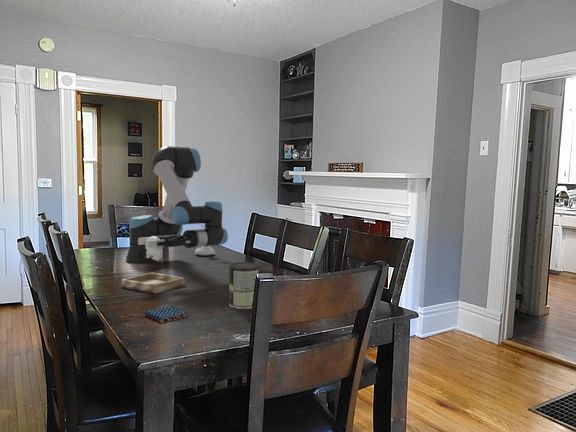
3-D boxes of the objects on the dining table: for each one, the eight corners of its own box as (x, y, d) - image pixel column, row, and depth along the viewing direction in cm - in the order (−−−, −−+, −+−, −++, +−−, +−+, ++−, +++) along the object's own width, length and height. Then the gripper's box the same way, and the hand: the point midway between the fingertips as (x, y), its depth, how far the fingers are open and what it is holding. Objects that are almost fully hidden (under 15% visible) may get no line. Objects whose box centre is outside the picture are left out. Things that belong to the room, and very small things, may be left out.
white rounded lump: (160, 234, 178) (166, 241, 167) (160, 254, 179) (166, 263, 169) (144, 235, 175) (149, 242, 164) (144, 255, 176) (149, 264, 166)
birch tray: (121, 287, 172) (121, 279, 171) (151, 279, 186) (151, 272, 185) (155, 293, 163) (155, 285, 163) (184, 284, 178) (184, 277, 177)
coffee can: (222, 305, 151) (222, 264, 149) (243, 299, 159) (244, 260, 157) (243, 311, 144) (244, 269, 143) (264, 304, 152) (265, 265, 151)
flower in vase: (190, 255, 244) (191, 211, 241) (200, 252, 254) (200, 210, 252) (211, 257, 240) (212, 212, 238) (220, 254, 251) (221, 211, 249)
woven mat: (190, 317, 138) (190, 311, 138) (160, 325, 130) (160, 318, 130) (171, 310, 145) (171, 304, 145) (142, 317, 137) (142, 310, 137)
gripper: (207, 250, 178) (155, 256, 163) (181, 244, 193) (132, 248, 178) (207, 232, 177) (155, 236, 162) (181, 227, 193) (132, 230, 177)
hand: (143, 242), depth 170 cm, fingers closed on white rounded lump, 8 cm apart
